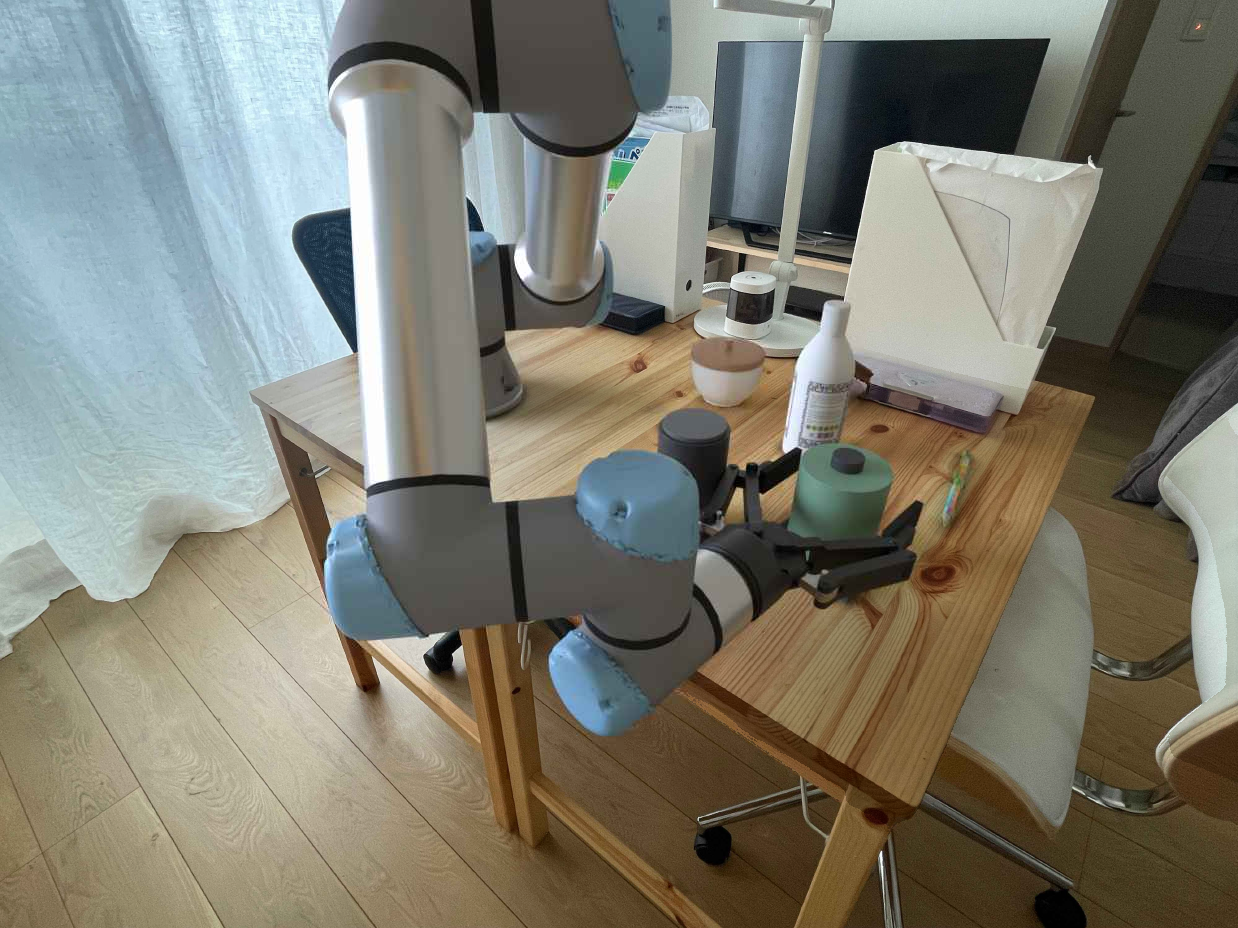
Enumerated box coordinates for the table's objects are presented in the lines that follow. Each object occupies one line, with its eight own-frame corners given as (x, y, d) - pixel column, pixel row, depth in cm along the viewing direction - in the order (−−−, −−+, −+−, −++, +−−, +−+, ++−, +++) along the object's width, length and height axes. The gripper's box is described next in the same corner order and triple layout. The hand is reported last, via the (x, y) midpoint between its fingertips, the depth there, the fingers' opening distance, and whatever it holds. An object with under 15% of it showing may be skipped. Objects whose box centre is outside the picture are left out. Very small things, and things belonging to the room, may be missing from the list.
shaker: (641, 514, 72) (644, 413, 64) (699, 498, 74) (708, 399, 67) (672, 555, 66) (679, 449, 59) (734, 536, 68) (748, 432, 61)
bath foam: (847, 459, 81) (883, 308, 70) (805, 472, 79) (835, 318, 68) (811, 434, 87) (840, 291, 76) (770, 446, 84) (794, 299, 73)
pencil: (949, 533, 69) (972, 458, 81) (952, 525, 68) (975, 451, 81) (936, 529, 69) (961, 455, 82) (939, 521, 69) (964, 448, 81)
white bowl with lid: (755, 384, 100) (763, 327, 95) (762, 416, 91) (770, 356, 86) (688, 380, 101) (692, 324, 96) (687, 412, 92) (691, 352, 87)
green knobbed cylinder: (769, 532, 68) (784, 443, 62) (833, 512, 71) (853, 426, 65) (820, 583, 61) (843, 489, 55) (889, 560, 64) (917, 468, 58)
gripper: (616, 550, 61) (750, 466, 73) (847, 711, 46) (966, 572, 59) (616, 486, 57) (757, 409, 69) (869, 640, 42) (992, 507, 54)
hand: (853, 484), depth 64 cm, fingers open, 12 cm apart
